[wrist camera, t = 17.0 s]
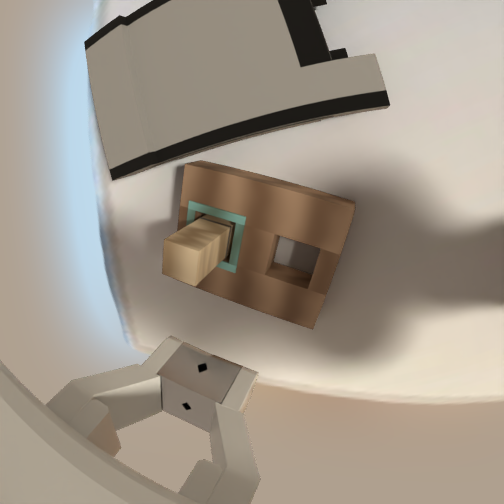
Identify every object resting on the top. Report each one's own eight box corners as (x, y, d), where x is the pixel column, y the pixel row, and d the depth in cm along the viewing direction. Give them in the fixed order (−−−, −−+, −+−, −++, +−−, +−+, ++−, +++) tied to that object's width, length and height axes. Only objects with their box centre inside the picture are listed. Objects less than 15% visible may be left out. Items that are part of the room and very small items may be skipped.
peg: (243, 217, 39) (199, 251, 28) (238, 245, 41) (195, 287, 30) (215, 208, 40) (163, 238, 29) (210, 236, 42) (161, 273, 31)
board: (355, 201, 34) (355, 210, 30) (317, 312, 41) (312, 330, 37) (200, 160, 38) (184, 164, 34) (187, 266, 45) (172, 279, 41)
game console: (383, 111, 29) (391, 104, 22) (150, 170, 41) (112, 180, 34) (329, -34, 23) (320, -68, 16) (122, 48, 35) (84, 41, 28)
